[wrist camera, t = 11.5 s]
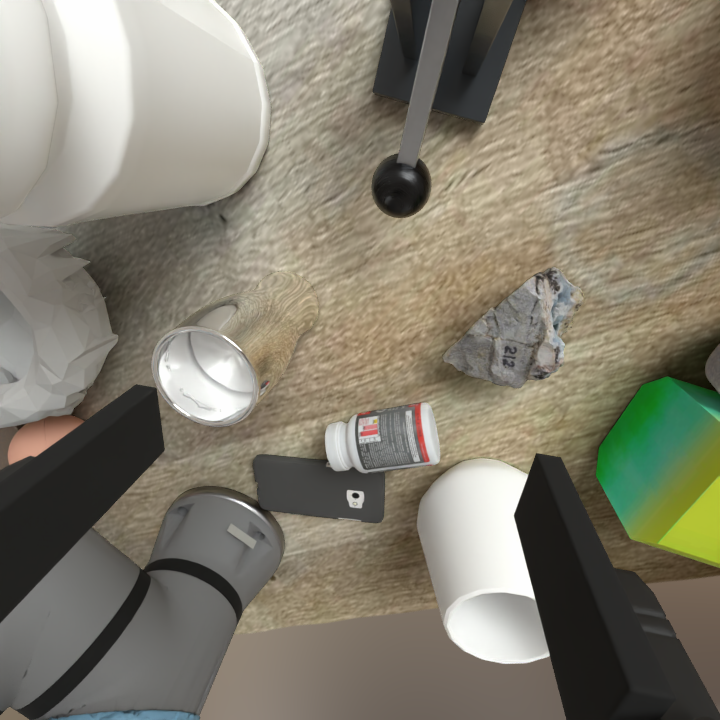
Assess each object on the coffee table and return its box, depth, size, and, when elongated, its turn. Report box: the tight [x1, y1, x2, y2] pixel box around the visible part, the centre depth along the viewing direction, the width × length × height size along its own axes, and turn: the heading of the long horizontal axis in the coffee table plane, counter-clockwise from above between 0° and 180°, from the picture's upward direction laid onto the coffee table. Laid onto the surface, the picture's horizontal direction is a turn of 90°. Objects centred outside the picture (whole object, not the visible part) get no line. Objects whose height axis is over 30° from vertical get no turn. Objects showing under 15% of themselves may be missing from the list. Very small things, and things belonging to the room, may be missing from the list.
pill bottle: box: [325, 402, 440, 473], centre depth 38 cm, size 6×6×10 cm
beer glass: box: [151, 271, 319, 427], centre depth 30 cm, size 7×7×15 cm
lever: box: [371, 0, 461, 218], centre depth 20 cm, size 14×4×4 cm, turn 166°
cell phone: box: [253, 455, 385, 523], centre depth 45 cm, size 8×15×1 cm, turn 91°
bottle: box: [0, 0, 271, 227], centre depth 18 cm, size 14×14×28 cm
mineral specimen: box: [442, 267, 584, 388], centre depth 32 cm, size 10×8×10 cm
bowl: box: [0, 222, 119, 428], centre depth 36 cm, size 21×20×10 cm
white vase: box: [417, 458, 550, 664], centre depth 36 cm, size 13×13×14 cm
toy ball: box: [8, 415, 85, 465], centre depth 44 cm, size 8×8×8 cm
